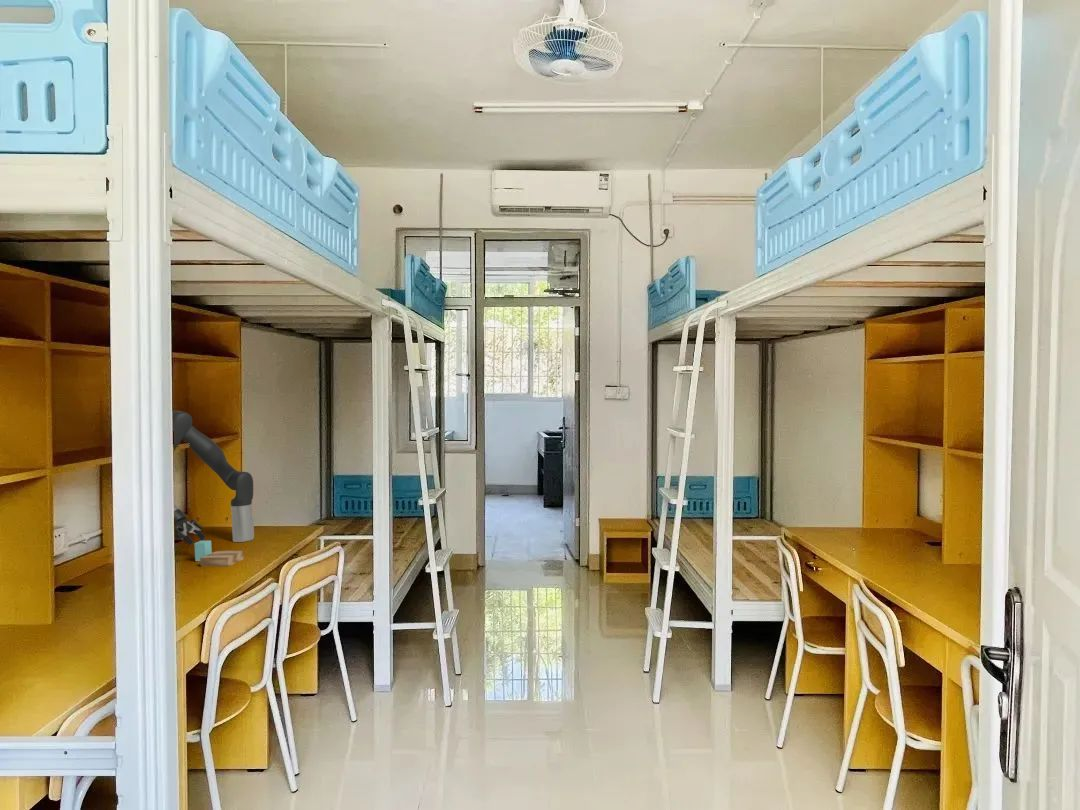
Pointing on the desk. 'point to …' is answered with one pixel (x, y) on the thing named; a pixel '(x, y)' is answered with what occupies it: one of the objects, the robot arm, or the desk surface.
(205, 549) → the teal block
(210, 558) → the brown notched block
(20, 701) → the desk surface
